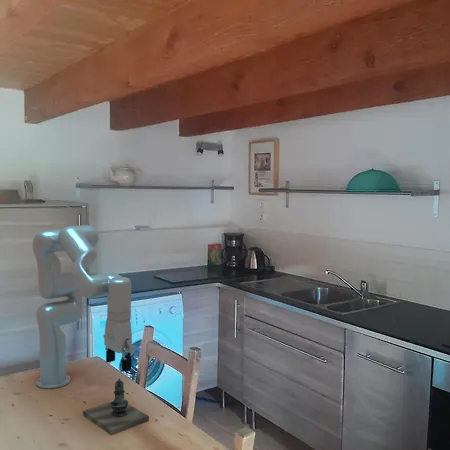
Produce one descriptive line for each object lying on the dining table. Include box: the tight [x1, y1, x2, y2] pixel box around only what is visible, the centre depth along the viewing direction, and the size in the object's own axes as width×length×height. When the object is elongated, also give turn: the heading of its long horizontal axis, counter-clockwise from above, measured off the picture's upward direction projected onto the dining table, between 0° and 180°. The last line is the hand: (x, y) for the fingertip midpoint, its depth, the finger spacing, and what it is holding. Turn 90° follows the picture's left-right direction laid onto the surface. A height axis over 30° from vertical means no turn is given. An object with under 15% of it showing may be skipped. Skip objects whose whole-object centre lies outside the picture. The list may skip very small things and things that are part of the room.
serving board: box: [82, 400, 150, 436], centre depth 165 cm, size 18×14×2 cm
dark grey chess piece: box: [110, 378, 129, 417], centre depth 164 cm, size 6×6×12 cm
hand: (118, 365), depth 164 cm, fingers open, 9 cm apart
